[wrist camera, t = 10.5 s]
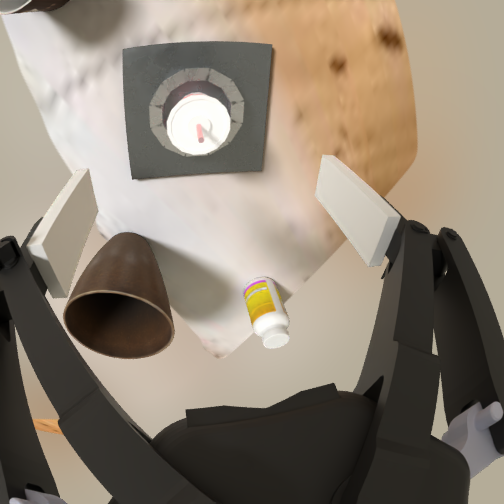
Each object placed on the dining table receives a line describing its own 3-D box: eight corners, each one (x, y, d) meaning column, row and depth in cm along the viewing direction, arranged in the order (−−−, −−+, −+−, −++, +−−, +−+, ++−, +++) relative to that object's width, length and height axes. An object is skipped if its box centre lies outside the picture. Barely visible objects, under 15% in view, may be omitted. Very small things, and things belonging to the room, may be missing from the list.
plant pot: (172, 283, 50) (176, 360, 38) (95, 281, 45) (81, 357, 34) (173, 212, 41) (173, 292, 29) (81, 212, 36) (47, 288, 25)
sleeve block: (124, 49, 24) (117, 48, 21) (270, 44, 28) (278, 43, 25) (133, 176, 35) (129, 187, 33) (259, 168, 39) (265, 178, 36)
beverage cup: (188, 77, 28) (189, 88, 17) (230, 101, 31) (255, 128, 21) (162, 118, 30) (148, 155, 20) (202, 140, 34) (212, 187, 23)
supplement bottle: (236, 294, 55) (249, 349, 46) (254, 271, 52) (272, 327, 43) (263, 301, 59) (279, 353, 49) (282, 280, 56) (303, 333, 46)
